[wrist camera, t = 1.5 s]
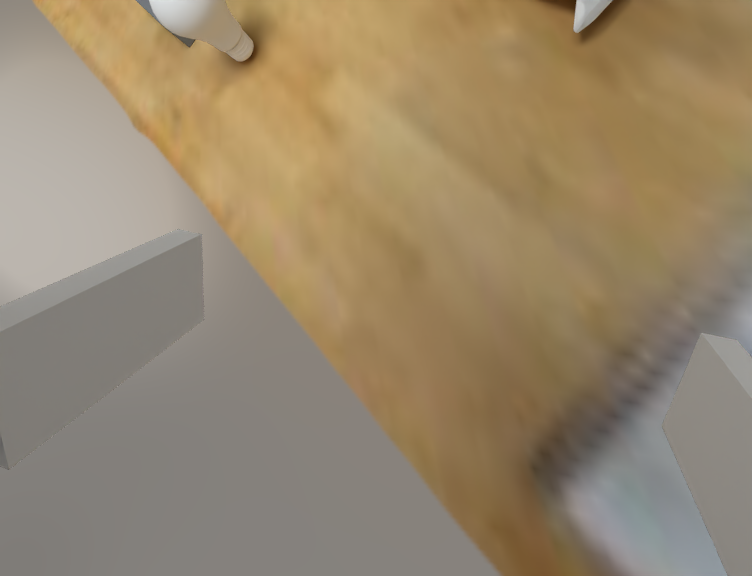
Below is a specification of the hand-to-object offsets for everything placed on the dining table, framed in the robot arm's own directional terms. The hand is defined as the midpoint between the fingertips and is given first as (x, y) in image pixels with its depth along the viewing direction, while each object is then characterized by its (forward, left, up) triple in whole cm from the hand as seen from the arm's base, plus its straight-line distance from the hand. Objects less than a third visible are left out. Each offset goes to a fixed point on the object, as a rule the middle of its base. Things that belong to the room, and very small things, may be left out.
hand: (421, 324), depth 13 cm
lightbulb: (-3, -41, -21) cm, 46 cm away
